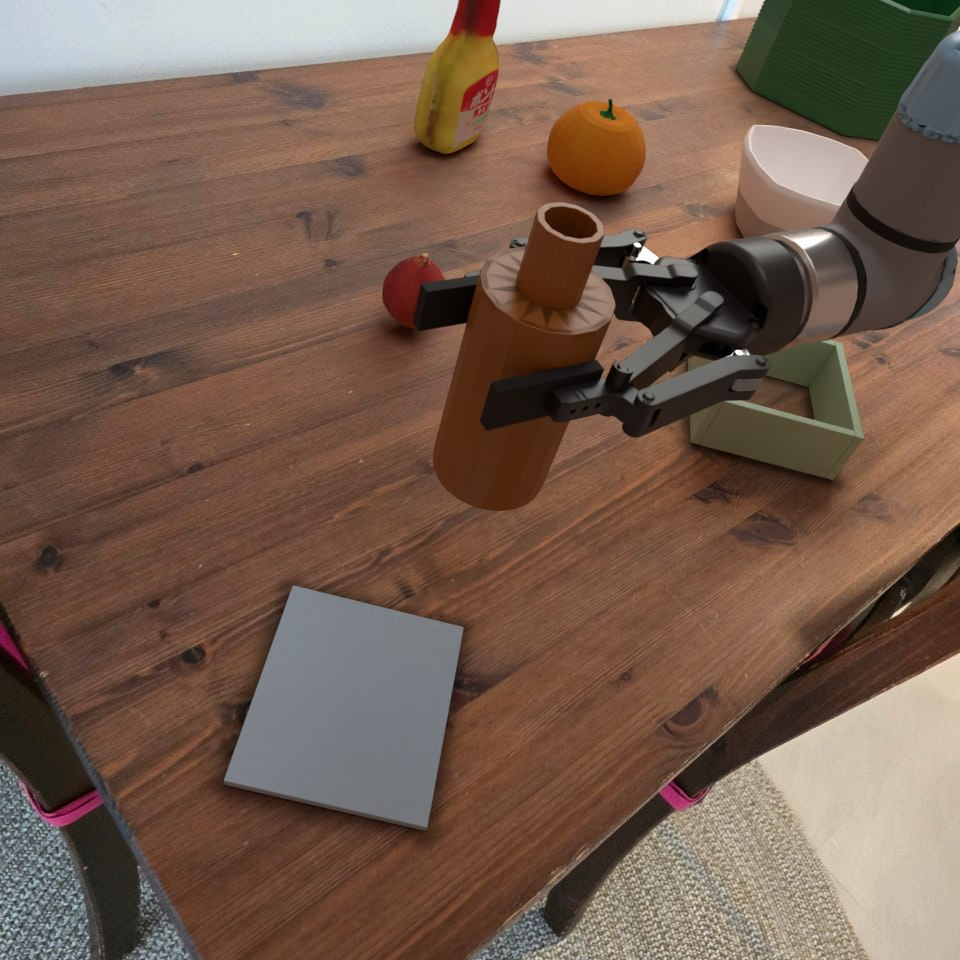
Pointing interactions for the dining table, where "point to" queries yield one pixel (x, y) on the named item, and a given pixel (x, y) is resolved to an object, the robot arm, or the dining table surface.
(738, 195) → the bowl
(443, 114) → the bottle
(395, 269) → the onion
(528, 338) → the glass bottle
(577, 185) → the fruit
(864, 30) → the planter
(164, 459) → the dining table surface
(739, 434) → the bin
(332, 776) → the mat
